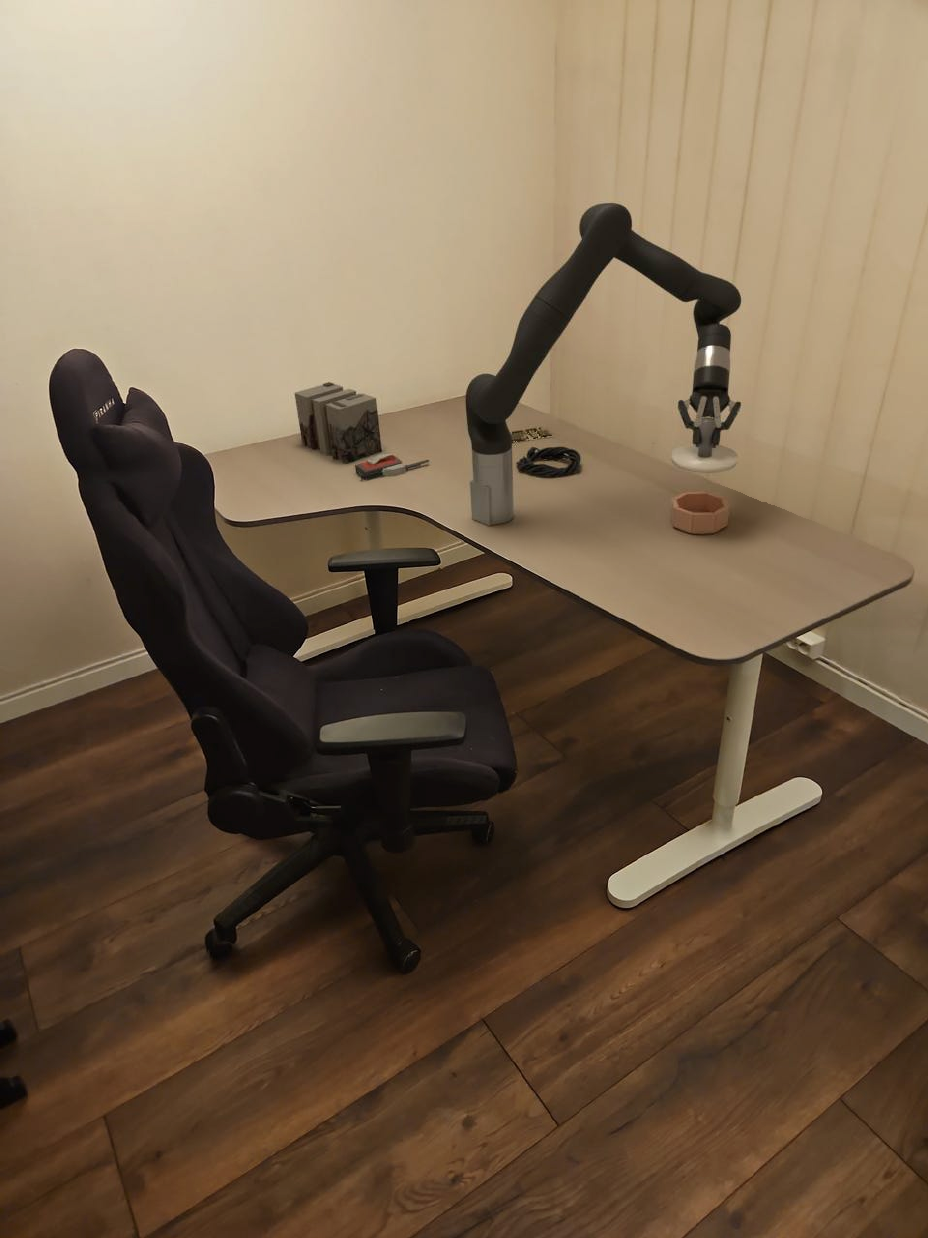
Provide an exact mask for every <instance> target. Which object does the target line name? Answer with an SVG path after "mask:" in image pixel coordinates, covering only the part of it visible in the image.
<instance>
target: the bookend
mask: <svg viewBox="0 0 928 1238" xmlns="http://www.w3.org/2000/svg"><path fill="white" fill-rule="evenodd" d="M294 398H295V405H296V411H297V419H298V425H299V430H300V431H299V432H300V437H301V444H303V445H304V447H308V448H310V449H311V450H313V451H317V450H318V451H319V452H320V454H322V455H323V456H326V457H328V456H332V459H333V460H334V461H338V460H339V461H340V462H342V463H343V464H344V465H348V464H349V465H350V464H351V463H354V462H356V461H360V460H362V459H366V458H369V457H372V456H374V455H377V454H380V453H382V452H383V451H382V450H383V449H382V443H381V441H382V439H381V435H380V434H381V431H380V422H379V421H380V420H379V414H378V413H379V411H378V404H377V397H374V396H371V395H368V394H365V393H358V394H357V391H356V390H354V389H351V388H348V389H347V388H346V389H344V386H342V385H340V384H336V383H334V382H330V381H328V382H324V383H322V384H321V385H316V386H313V387H310V388H307V389H303V390H300V391H296V392H294ZM303 445H302V446H303ZM307 445H308V446H307Z"/></svg>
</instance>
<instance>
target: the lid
mask: <svg viewBox="0 0 928 1238" xmlns="http://www.w3.org/2000/svg"><path fill="white" fill-rule="evenodd" d="M714 428H715V419H714V418H713V417H703V418H702V419H701V423H700V438H699V447H695V446H696V445H693V443H690V444H684V445H681V446H678V447H676V448H675V449H673V451H672V452H671V459H670V460H671V463H672V464H673V465H674V466H675V467H677V468H678V469H681V470H684V471H687V472H692V473H698V474H699V473H700V474H714V473H721V472H726V471H729V470H732V469H734V468H735V467H736V466H737V465H738V460H739V455H738V453H737V452H736V451H735V450H734V449H732V448H729V447H728V446H724V445H720V444H719V445H716V448H712V447H713V436H714Z"/></svg>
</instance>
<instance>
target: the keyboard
mask: <svg viewBox="0 0 928 1238" xmlns="http://www.w3.org/2000/svg"><path fill="white" fill-rule="evenodd" d="M541 428H542V427H540V426H539V427H538V429H537V427H532V428H526V429H525V430H523V429H519V430H511V437H512V444H516V443H515V442H516V441H517V442H518V443H521V442H520V441H525V440H526V439H529V438H528V436H527V434H528V433H529V434H528V435H530V436H531V437H533V439H536V438H537V439H538V435H537V434H539V436H541V438H542V437H544V438H545V437H547V436H552V434H553V433H552V432H551V430H549V428H548V427H547V428H544V429H545V430H544V429H541ZM539 429H540V430H539ZM536 431H537V434H536V433H535V432H536ZM545 439H546V438H545ZM538 440H539V439H538ZM513 441H515V442H513ZM525 442H526V441H525Z"/></svg>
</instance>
